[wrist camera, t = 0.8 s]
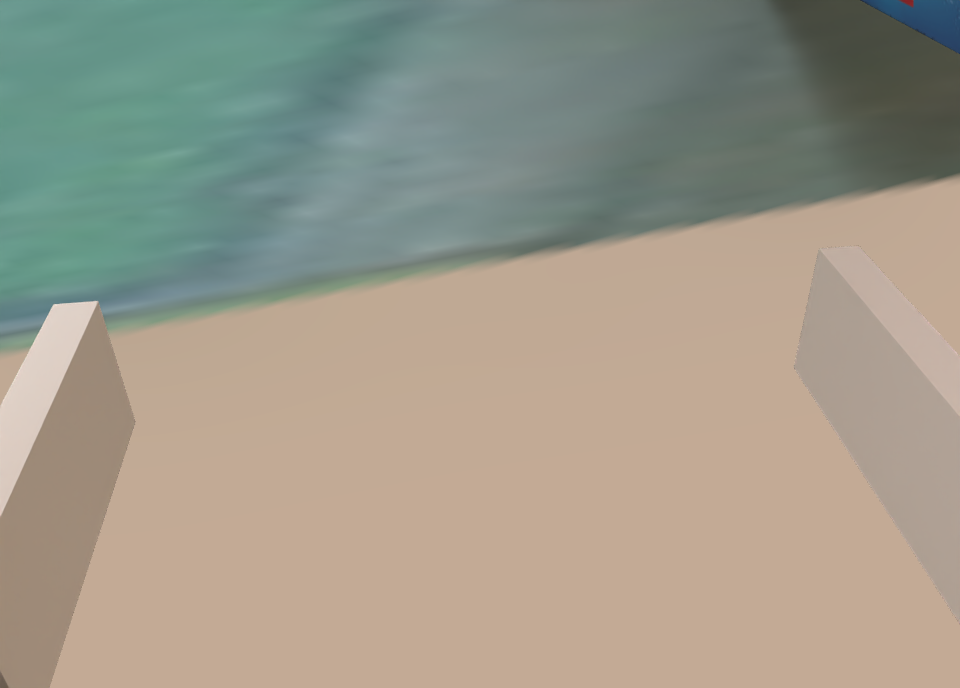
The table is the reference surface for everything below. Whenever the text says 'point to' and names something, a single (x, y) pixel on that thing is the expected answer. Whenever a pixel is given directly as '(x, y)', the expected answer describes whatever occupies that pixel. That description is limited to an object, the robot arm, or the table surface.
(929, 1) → the blue food box
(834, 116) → the table surface
